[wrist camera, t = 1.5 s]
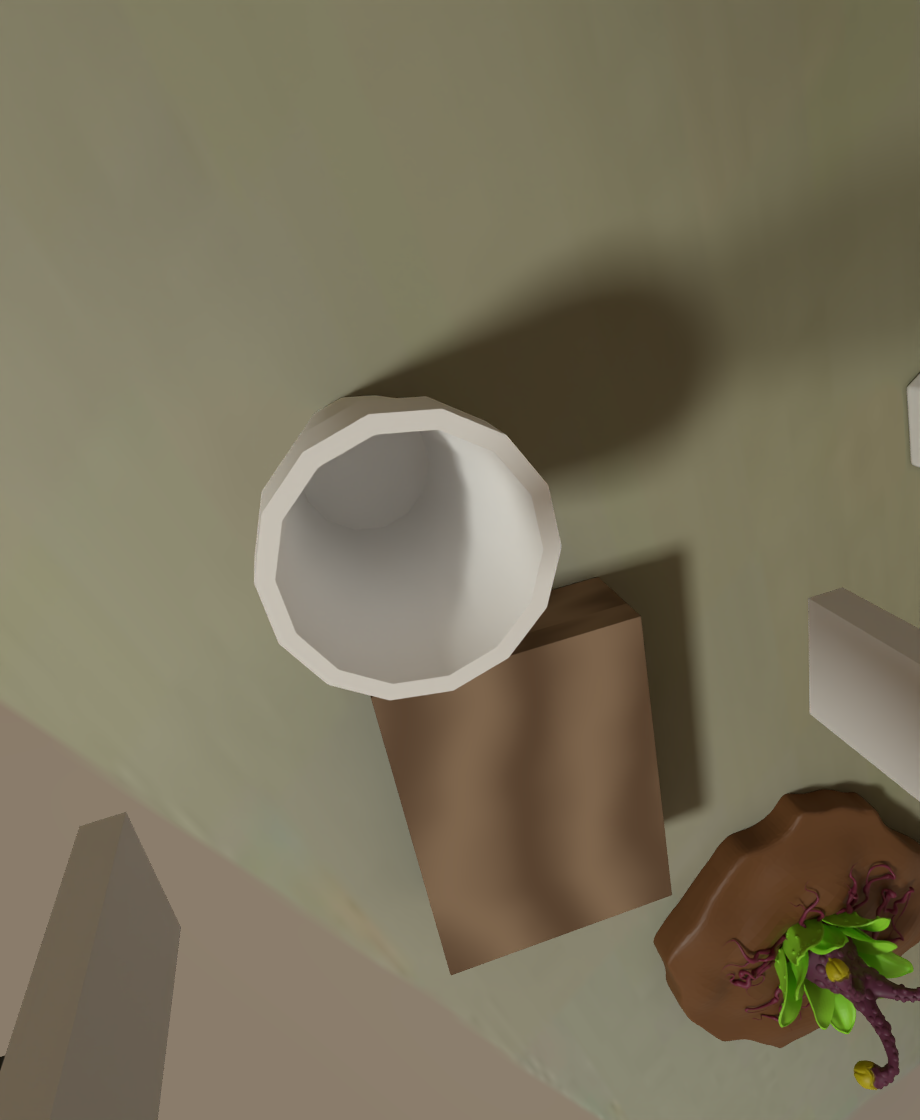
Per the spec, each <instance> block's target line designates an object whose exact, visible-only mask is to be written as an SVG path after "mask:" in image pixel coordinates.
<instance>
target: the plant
mask: <svg viewBox="0 0 920 1120" xmlns="http://www.w3.org/2000/svg"><path fill="white" fill-rule="evenodd" d="M919 941H920V844H918V843H917V842H916V841H915V840H913V839H912V838H910V837H908V836H906V835H904V834H902V833H899V832H897V831H894V830H892V829H890V828H889V827H887V826H886V825H885V824H884V823H883V822H882V820H881V818H880V816H879V814H878V812H877V811H876V810H875V809H874V808H873V807H872V806H871V805H870V804H869V803H868V802H867V801H865V800H864V799H863V798H862V797H861V796H859V795H858V794H856V793H854V792H848V793H843V792H839V791H835V790H827V789H823V790H817V791H814V792H810V793H805V794H785V795H783V796H782V797H781V799H780V800H779V801H778V803H777V805H776V806H775V808H774V809H773V810H772V811H771V813H770V814H769V815H767V816H766V817H765V818H764V819H763V820H761V821H760V822H758V823H757V824H755V825H754V826H752V827H750V828H748V829H745V830H742V831H739V832H736V833H733V834H731V835H730V836H728V837H727V838H726V839H725V840H724V841H723V842H722V843H721V844H720V845H719V846H718V848H717V849H716V850H715V852H714V854H713V855H712V856H711V858H710V860H709V861H708V862H707V863H706V865H705V866H704V867H703V869H702V870H701V871H700V873H699V874H698V876H697V877H696V879H695V880H694V881H693V883H692V884H691V886H690V887H689V889H688V890H687V892H686V893H685V894H684V896H683V897H682V899H681V900H680V902H679V903H678V904H677V905H676V907H675V908H674V909H673V910H672V912H671V913H670V914H669V916H668V917H667V918H666V920H665V921H664V923H663V924H662V926H661V927H660V929H659V930H658V932H657V934H656V936H655V938H654V945H655V947H656V948H657V951H658V953H659V954H660V956H661V958H662V960H663V962H664V965H665V969H666V980H667V983H668V986H669V987H670V989H671V991H672V993H673V994H674V996H675V998H676V1000H677V1001H678V1003H679V1005H680V1006H681V1008H682V1009H683V1011H684V1012H685V1014H686V1015H687V1017H688V1018H689V1019H690V1020H691V1021H693V1022H694V1023H696V1024H697V1025H699V1026H701V1027H702V1028H704V1029H705V1030H706V1031H708V1032H709V1033H711V1034H712V1035H714V1036H715V1037H716V1038H718V1039H720V1040H722V1041H732V1040H740V1039H748V1040H753V1041H756V1042H759V1043H763V1044H767V1045H772V1046H775V1047H778V1048H782V1047H784V1046H786V1045H787V1044H789V1043H791V1042H792V1041H794V1040H796V1039H798V1038H800V1037H803V1036H805V1035H807V1034H809V1033H811V1032H812V1031H814V1030H816V1029H818V1028H821V1029H823V1030H825V1029H827V1028H828V1026H829V1024H830V1023H831V1025H832V1026H833V1027H834V1028H835V1029H836V1030H838V1031H839V1032H841V1033H844V1034H849V1033H850V1032H851V1030H852V1028H853V1026H854V1023H855V1019H856V1009H857V1010H858V1011H860V1012H861V1013H862V1014H863V1015H864V1016H865V1017H866V1019H867V1020H868V1021H869V1022H870V1023H871V1025H872V1026H873V1027H874V1029H875V1031H876V1033H877V1034H878V1035H879V1037H880V1039H881V1041H882V1043H883V1045H884V1048H885V1051H886V1053H887V1056H888V1064H886V1065H885V1066H884V1067H880V1066H878V1065H877V1064H875V1063H873V1062H871V1061H859V1062H857V1064H856V1065H855V1067H854V1076H855V1078H856V1080H857V1082H858V1083H859V1084H860V1085H861V1086H862V1087H864V1088H866V1089H871V1090H874V1089H875V1090H877V1089H882V1088H883V1087H884V1086H887V1085H888V1084H889V1083H892V1082H893V1081H894V1077H895V1075H898V1074H899V1068H898V1065H899V1062H898V1061H899V1058H898V1054H899V1053H898V1050H897V1048H896V1045H895V1038H894V1036H893V1035H892V1033H891V1025H890V1024H889V1022H887V1021H886V1020H885V1017H884V1015H882V1013H881V1011H880V1010H879V1008H878V1006H877V1004H876V999H878V998H888V999H895V1000H896V1001H898V1000H901V1001H902V1002H906V1001H911V1002H914V1001H917V1000H918V1001H920V987H917V989H911V988H906V987H905V986H904V985H903V984H900V985H897V984H895V983H893V982H891V981H889V980H887V979H886V978H897V977H900V976H903V975H906V974H908V973H911V972H913V966H912V964H911V963H910V962H909V961H908V960H906V959H904V958H902V957H901V956H902V954H904V953H905V952H906V951H907V950H909V949H910V948H911V947H913V946H914V945H916V944H917V943H918V942H919Z"/></svg>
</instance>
